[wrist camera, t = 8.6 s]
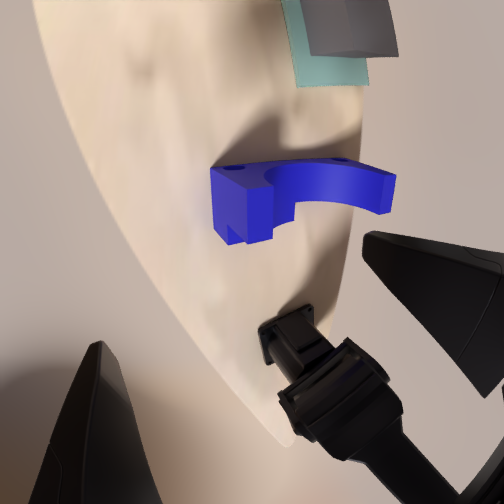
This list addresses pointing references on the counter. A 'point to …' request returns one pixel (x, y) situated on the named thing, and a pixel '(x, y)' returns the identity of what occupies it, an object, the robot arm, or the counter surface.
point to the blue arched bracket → (290, 193)
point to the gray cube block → (349, 28)
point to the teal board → (318, 67)
